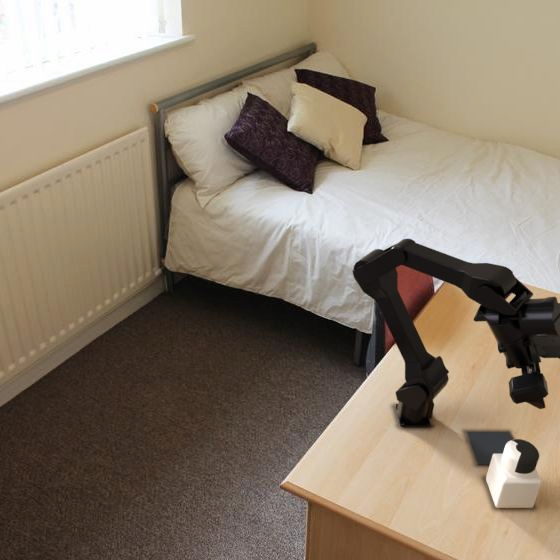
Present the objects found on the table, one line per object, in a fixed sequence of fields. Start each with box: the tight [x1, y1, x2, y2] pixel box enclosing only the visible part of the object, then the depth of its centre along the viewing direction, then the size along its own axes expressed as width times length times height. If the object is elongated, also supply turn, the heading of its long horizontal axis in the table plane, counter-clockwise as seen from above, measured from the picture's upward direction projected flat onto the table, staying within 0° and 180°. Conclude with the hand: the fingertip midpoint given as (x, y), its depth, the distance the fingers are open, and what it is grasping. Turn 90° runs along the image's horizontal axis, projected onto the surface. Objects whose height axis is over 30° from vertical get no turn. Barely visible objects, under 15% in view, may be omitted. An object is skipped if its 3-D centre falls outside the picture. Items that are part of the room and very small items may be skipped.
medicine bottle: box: [485, 438, 542, 509], centre depth 131 cm, size 7×7×12 cm
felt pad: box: [466, 431, 513, 466], centre depth 144 cm, size 9×9×1 cm
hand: (540, 390), depth 135 cm, fingers open, 9 cm apart
